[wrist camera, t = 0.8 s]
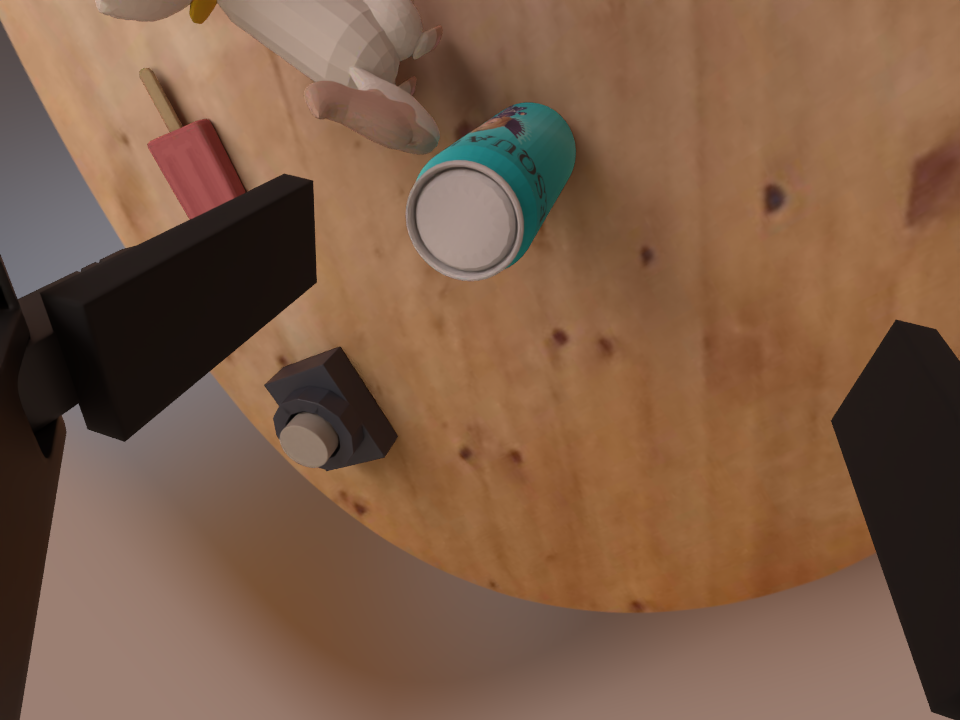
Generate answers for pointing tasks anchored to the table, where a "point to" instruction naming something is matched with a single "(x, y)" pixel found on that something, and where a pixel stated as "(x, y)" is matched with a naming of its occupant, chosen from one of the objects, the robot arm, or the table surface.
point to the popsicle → (191, 157)
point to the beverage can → (490, 192)
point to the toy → (332, 56)
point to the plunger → (309, 440)
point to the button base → (333, 406)
